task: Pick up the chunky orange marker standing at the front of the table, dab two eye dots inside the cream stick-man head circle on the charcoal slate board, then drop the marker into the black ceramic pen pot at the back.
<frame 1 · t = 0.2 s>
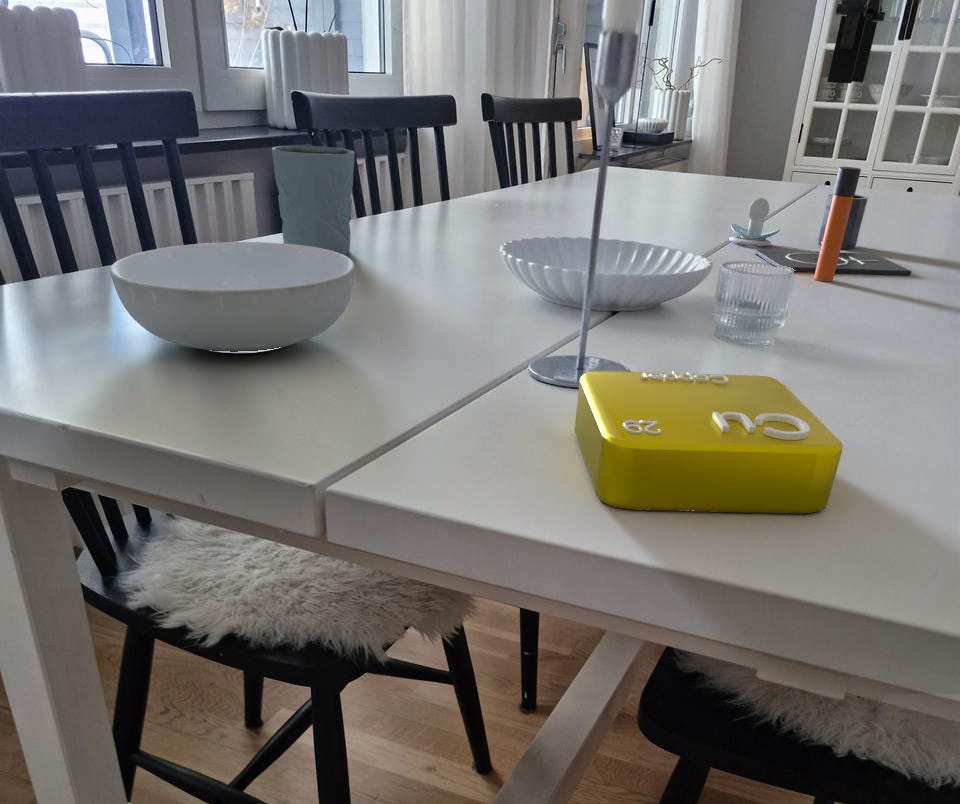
hand: (845, 82, 112), 22 cm above the table, tool pointing down, fingers open, 13 cm apart
pen pot: (836, 245, 139), on the table
pacifier: (750, 245, 137), on the table
serving bowl: (243, 343, 83), on the table
slate board: (829, 264, 126), on the table
element tile: (690, 469, 62), on the table
marker: (823, 279, 117), on the table
green vase: (319, 253, 119), on the table
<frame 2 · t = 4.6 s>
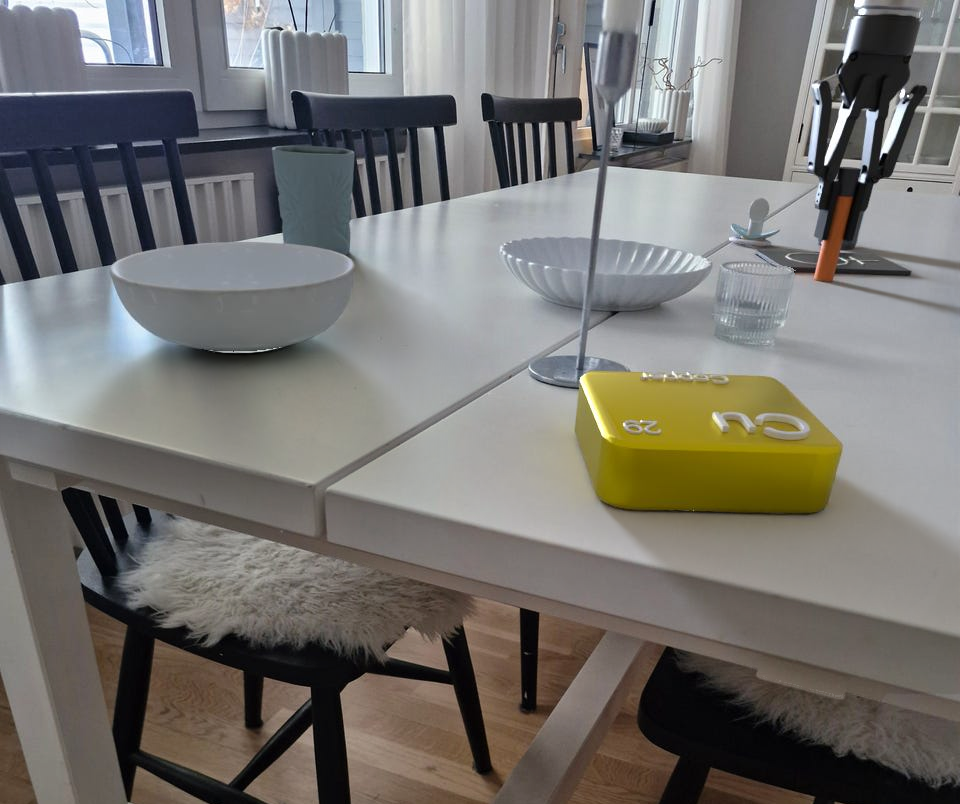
hand: (833, 238, 114), 5 cm above the table, tool pointing down, fingers closed on marker, 3 cm apart
marker: (823, 279, 117), on the table, touching gripper
everything else where it was.
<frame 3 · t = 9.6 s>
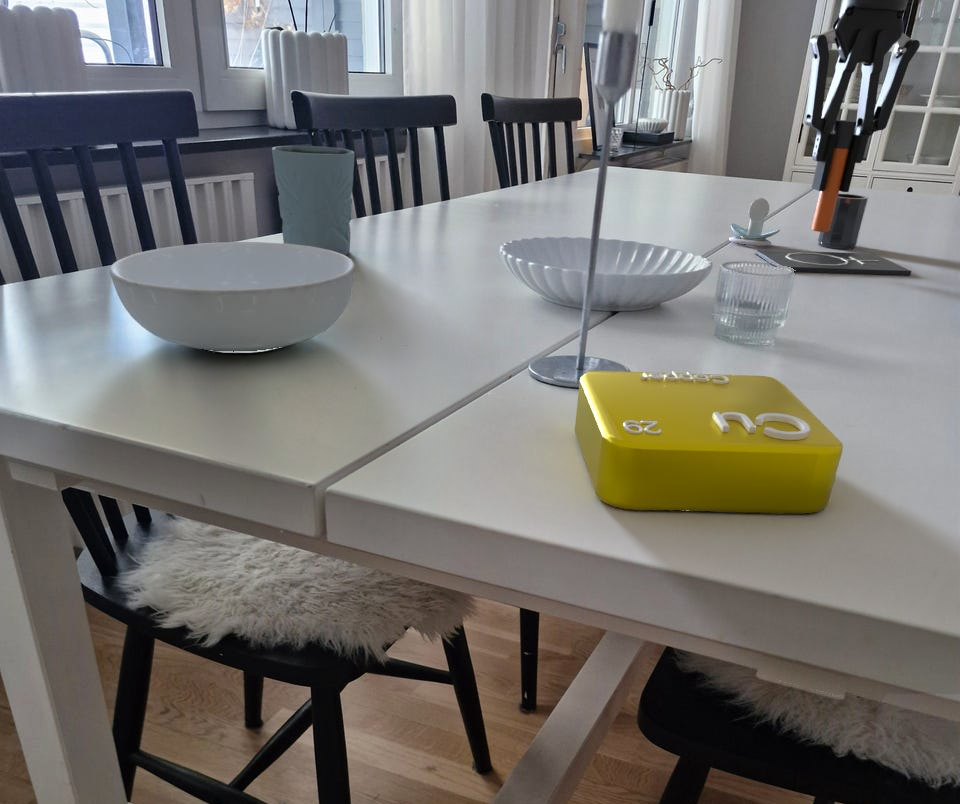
hand: (829, 189, 119), 10 cm above the table, tool pointing down, fingers closed on marker, 3 cm apart
marker: (820, 230, 122), point 5 cm above the table, touching gripper
everything else where it was.
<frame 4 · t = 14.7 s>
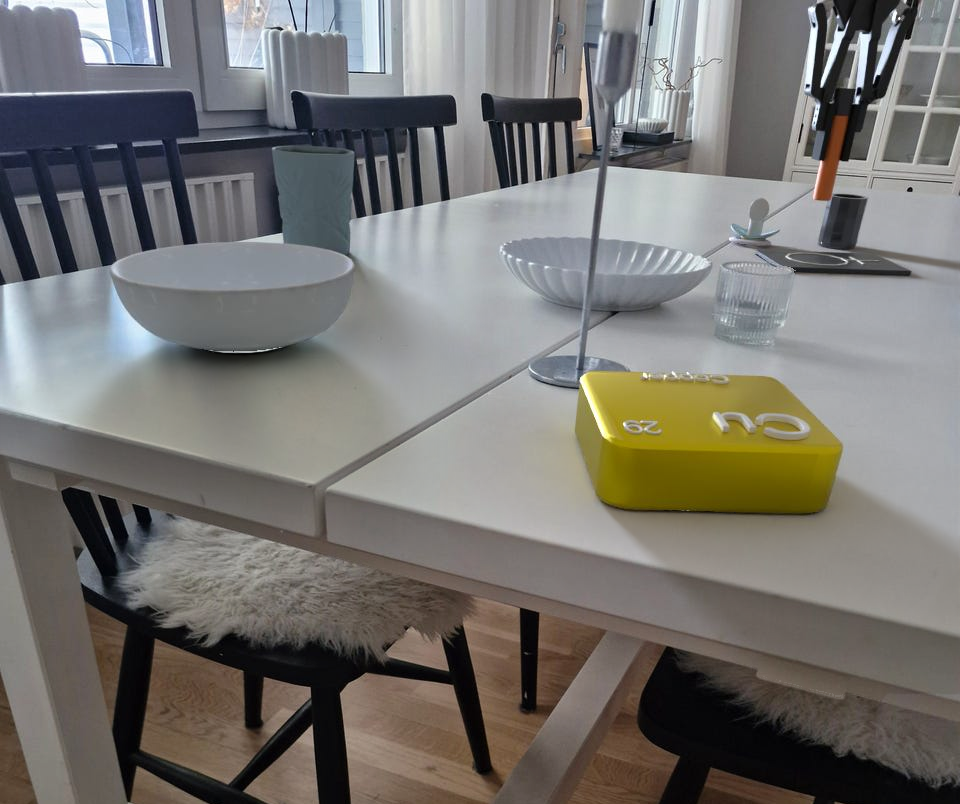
hand: (829, 159, 120), 13 cm above the table, tool pointing down, fingers closed on marker, 3 cm apart
marker: (821, 199, 122), point 8 cm above the table, touching gripper
everything else where it was.
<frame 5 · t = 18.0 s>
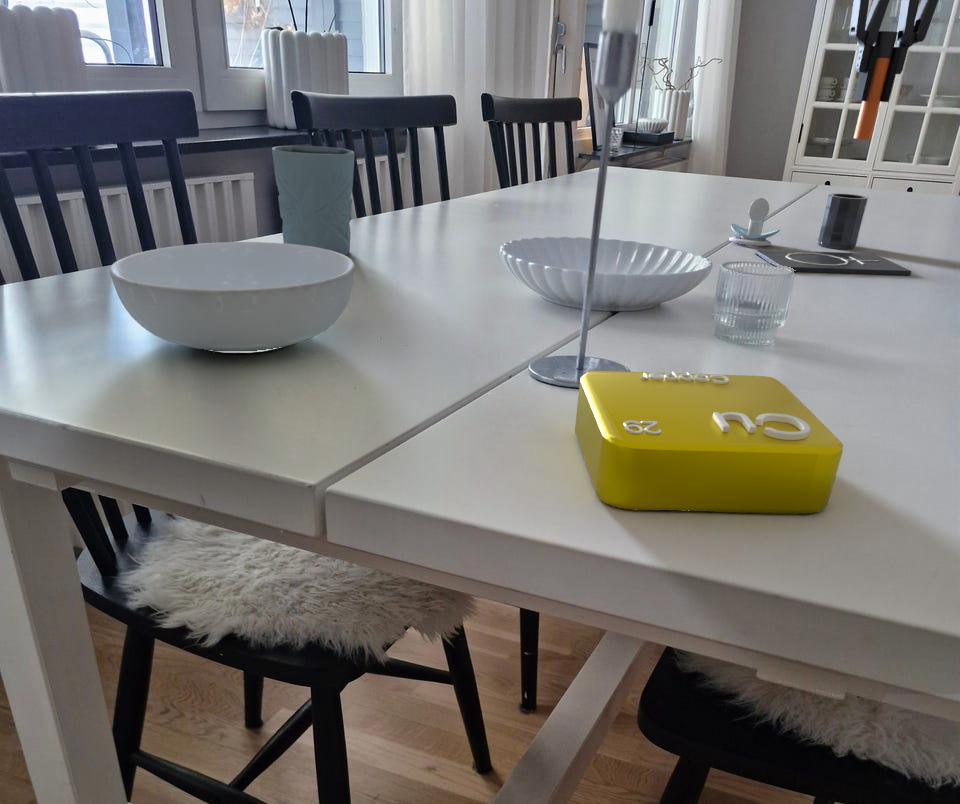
hand: (871, 100, 128), 19 cm above the table, tool pointing down, fingers closed on marker, 3 cm apart
marker: (861, 139, 131), point 15 cm above the table, touching gripper
everything else where it was.
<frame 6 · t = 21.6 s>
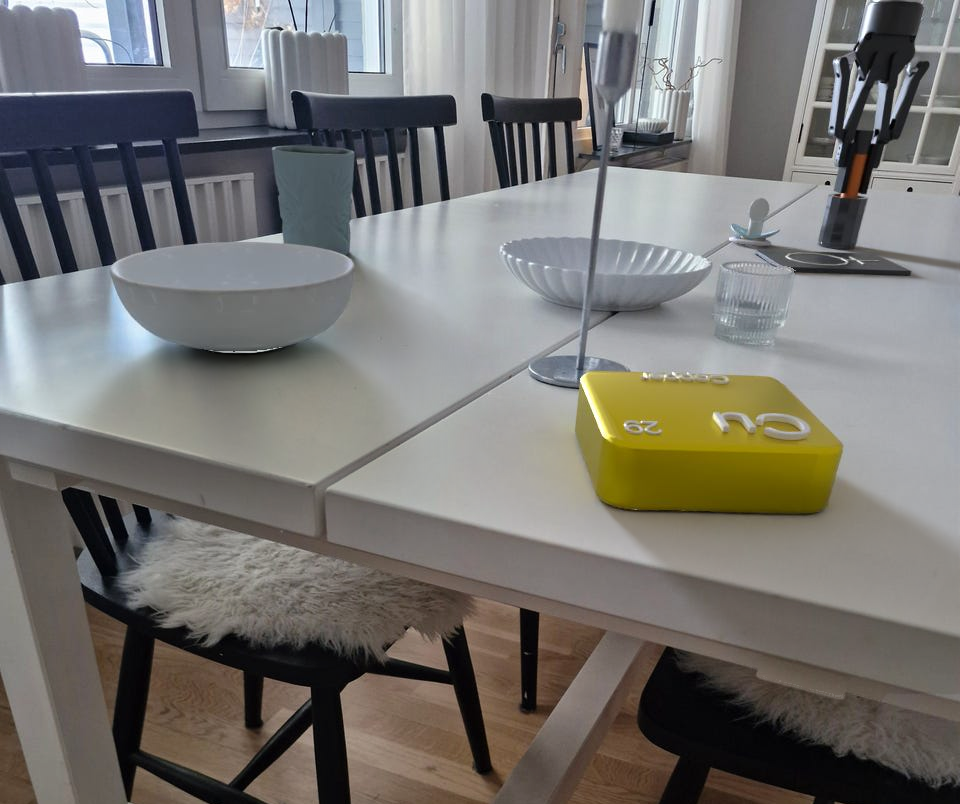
hand: (849, 192, 135), 8 cm above the table, tool pointing down, fingers closed on marker, 3 cm apart
marker: (841, 227, 137), point 3 cm above the table, touching gripper
everything else where it was.
when the fingers open (9 cm above the table, at t = 24.8 s): marker drops 3 cm, resting on pen pot.
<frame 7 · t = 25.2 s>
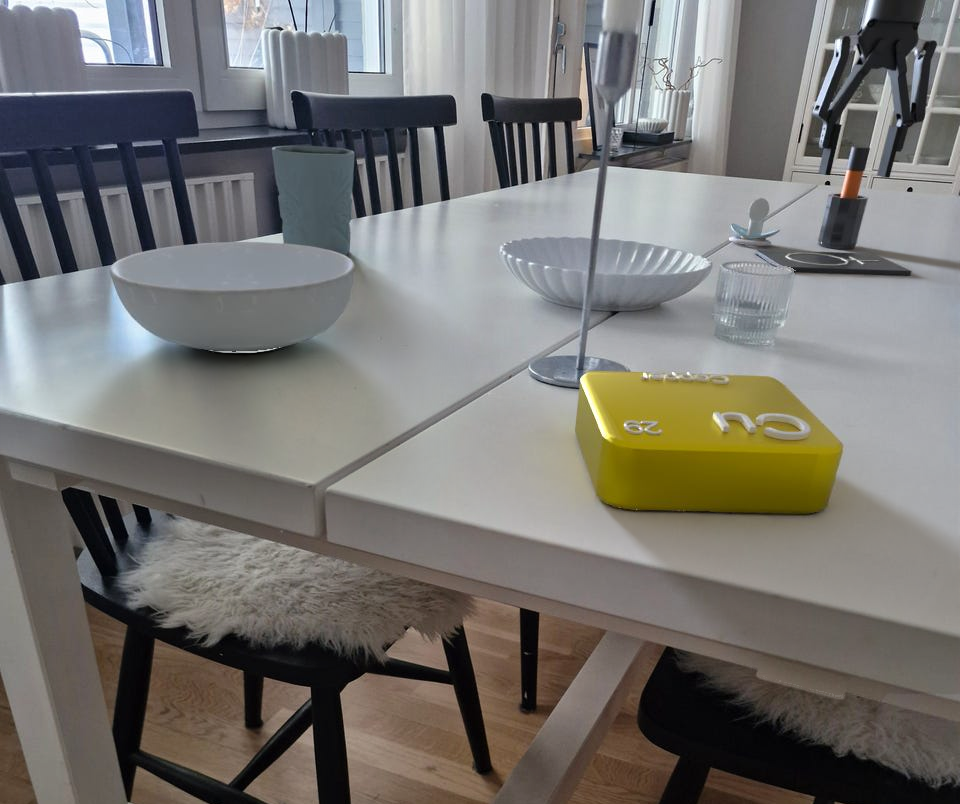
hand: (853, 175, 133), 10 cm above the table, tool pointing down, fingers open, 8 cm apart
marker: (837, 242, 139), point 1 cm above the table, touching pen pot
everything else where it was.
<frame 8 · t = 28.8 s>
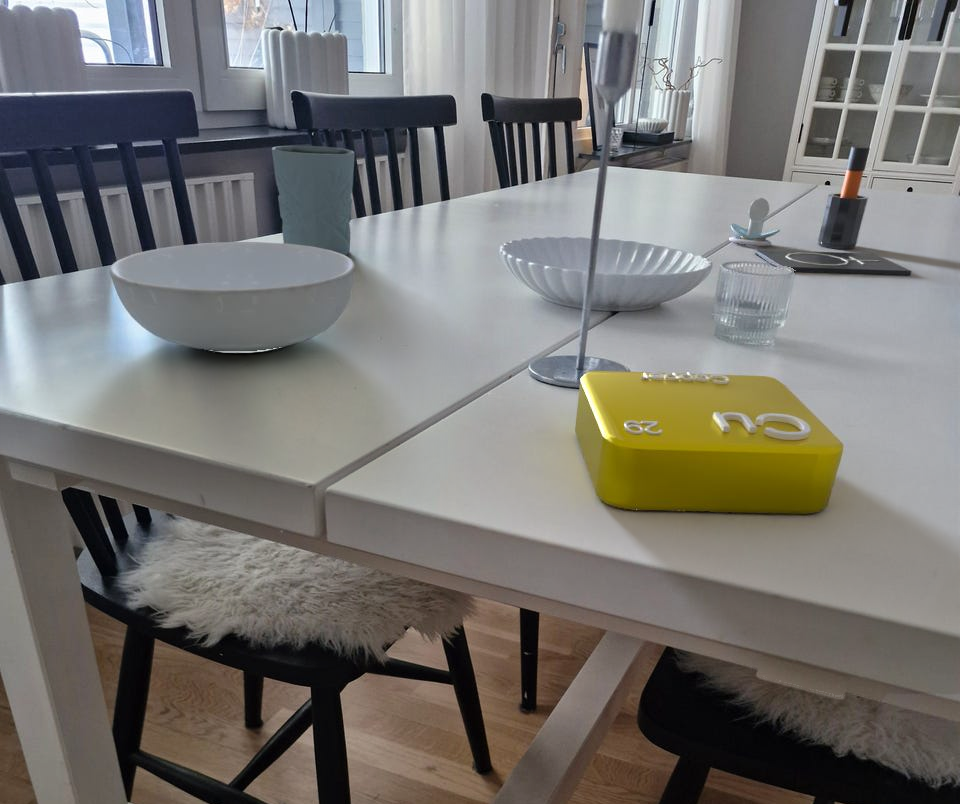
hand: (886, 39, 124), 27 cm above the table, tool pointing down, fingers open, 13 cm apart
nothing on the table moved.
at the end: marker 0.1 cm off-centre in the pen pot, point 0.5 cm above the pen pot's base; marker tilted 0°; the gripper is holding nothing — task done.
